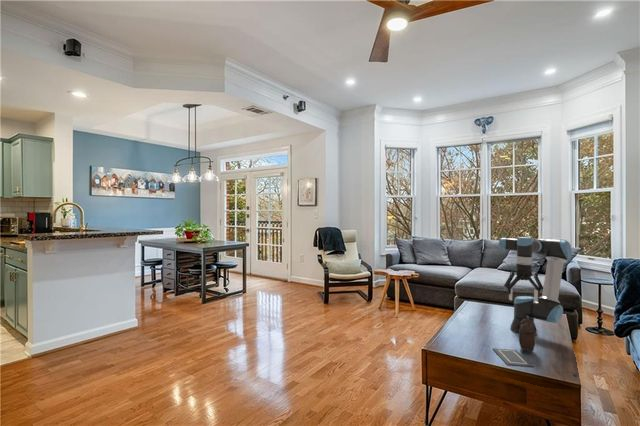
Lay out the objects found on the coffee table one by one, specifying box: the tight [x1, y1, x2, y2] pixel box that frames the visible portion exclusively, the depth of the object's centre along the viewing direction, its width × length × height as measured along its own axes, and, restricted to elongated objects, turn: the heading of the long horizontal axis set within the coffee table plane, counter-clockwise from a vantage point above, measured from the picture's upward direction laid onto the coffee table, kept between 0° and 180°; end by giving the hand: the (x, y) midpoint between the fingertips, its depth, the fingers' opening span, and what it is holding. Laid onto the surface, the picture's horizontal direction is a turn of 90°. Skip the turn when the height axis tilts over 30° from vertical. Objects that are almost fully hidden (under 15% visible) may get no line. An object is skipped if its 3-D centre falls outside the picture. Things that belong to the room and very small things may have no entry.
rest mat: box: [492, 348, 535, 368], centre depth 183 cm, size 13×20×1 cm, turn 172°
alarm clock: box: [518, 316, 536, 354], centre depth 193 cm, size 15×7×20 cm, turn 153°
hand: (523, 300), depth 194 cm, fingers open, 13 cm apart
